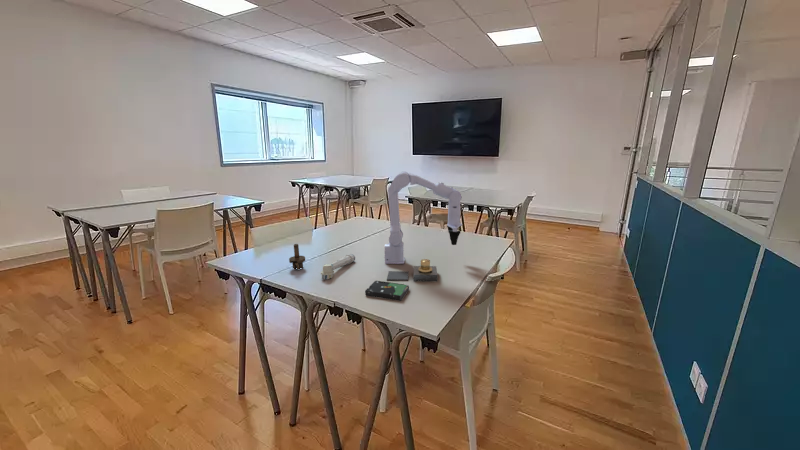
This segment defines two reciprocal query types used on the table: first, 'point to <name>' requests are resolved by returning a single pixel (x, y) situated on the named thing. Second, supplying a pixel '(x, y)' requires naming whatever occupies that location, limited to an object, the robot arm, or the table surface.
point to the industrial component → (297, 258)
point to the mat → (397, 276)
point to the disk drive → (387, 290)
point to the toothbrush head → (336, 266)
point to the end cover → (425, 266)
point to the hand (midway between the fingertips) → (453, 242)
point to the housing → (425, 274)
